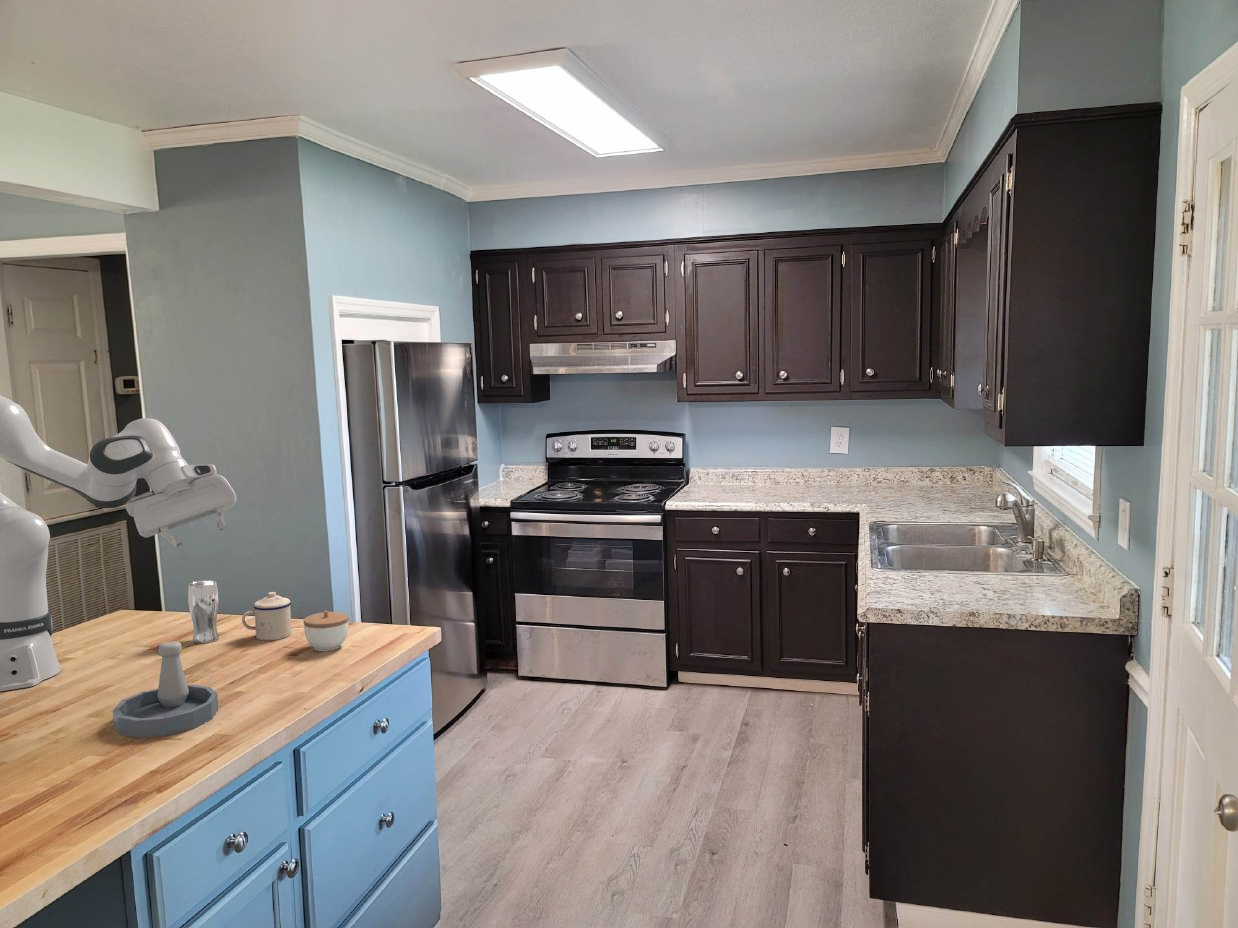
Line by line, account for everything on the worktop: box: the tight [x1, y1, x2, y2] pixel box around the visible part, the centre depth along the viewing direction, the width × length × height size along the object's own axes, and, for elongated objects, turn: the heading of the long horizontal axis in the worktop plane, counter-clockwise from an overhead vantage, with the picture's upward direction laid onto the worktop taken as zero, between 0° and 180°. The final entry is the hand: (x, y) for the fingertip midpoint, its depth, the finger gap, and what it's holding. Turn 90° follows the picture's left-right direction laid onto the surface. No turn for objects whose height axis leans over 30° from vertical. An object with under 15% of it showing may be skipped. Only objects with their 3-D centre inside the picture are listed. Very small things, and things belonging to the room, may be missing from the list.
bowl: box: [112, 684, 219, 739], centre depth 172 cm, size 18×18×4 cm
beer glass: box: [187, 579, 220, 644], centre depth 221 cm, size 7×7×15 cm
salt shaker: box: [157, 640, 189, 708], centre depth 176 cm, size 6×6×13 cm
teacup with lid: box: [241, 591, 292, 642], centre depth 223 cm, size 12×9×12 cm
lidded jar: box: [303, 610, 350, 652], centre depth 215 cm, size 11×11×9 cm
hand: (201, 536), depth 183 cm, fingers open, 8 cm apart
